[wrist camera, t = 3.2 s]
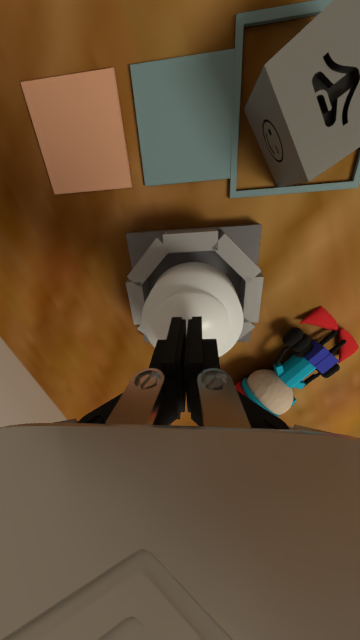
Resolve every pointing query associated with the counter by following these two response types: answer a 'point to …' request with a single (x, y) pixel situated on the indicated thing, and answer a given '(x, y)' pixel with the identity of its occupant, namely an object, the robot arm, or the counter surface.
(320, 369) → the toy figure
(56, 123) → the sorting mat
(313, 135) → the dice cube
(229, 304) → the dome
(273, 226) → the counter surface
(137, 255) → the dome base
